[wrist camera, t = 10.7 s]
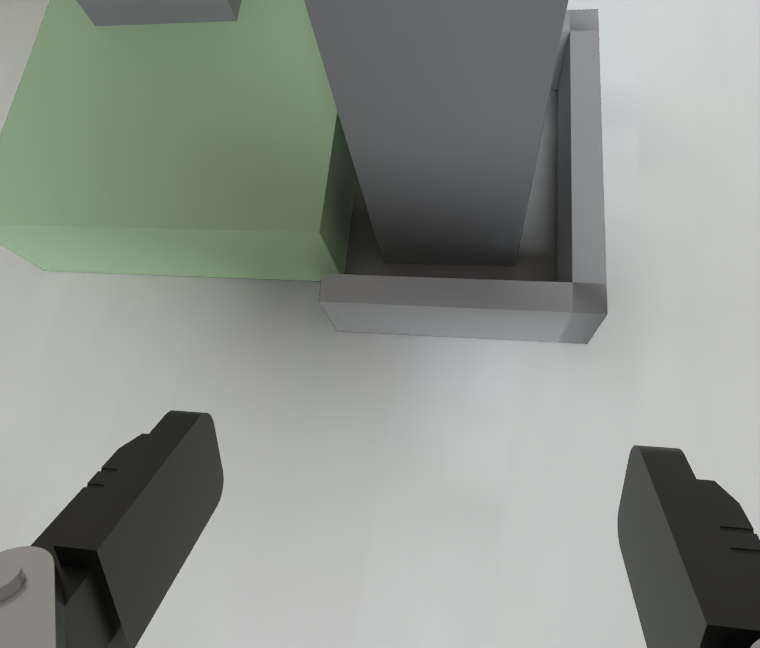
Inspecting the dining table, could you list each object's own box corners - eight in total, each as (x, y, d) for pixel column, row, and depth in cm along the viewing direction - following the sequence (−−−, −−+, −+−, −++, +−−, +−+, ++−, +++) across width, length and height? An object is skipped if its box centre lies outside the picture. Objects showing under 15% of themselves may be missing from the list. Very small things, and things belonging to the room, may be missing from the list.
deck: (29, 315, 24) (-254, 176, 14) (141, -44, 30) (-4, -301, 21) (587, 343, 20) (694, 185, 11) (579, -69, 27) (643, -394, 17)
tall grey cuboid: (383, 263, 22) (302, -4, 11) (395, 133, 24) (336, -206, 13) (515, 265, 22) (572, -19, 10) (516, 132, 23) (565, -230, 12)
